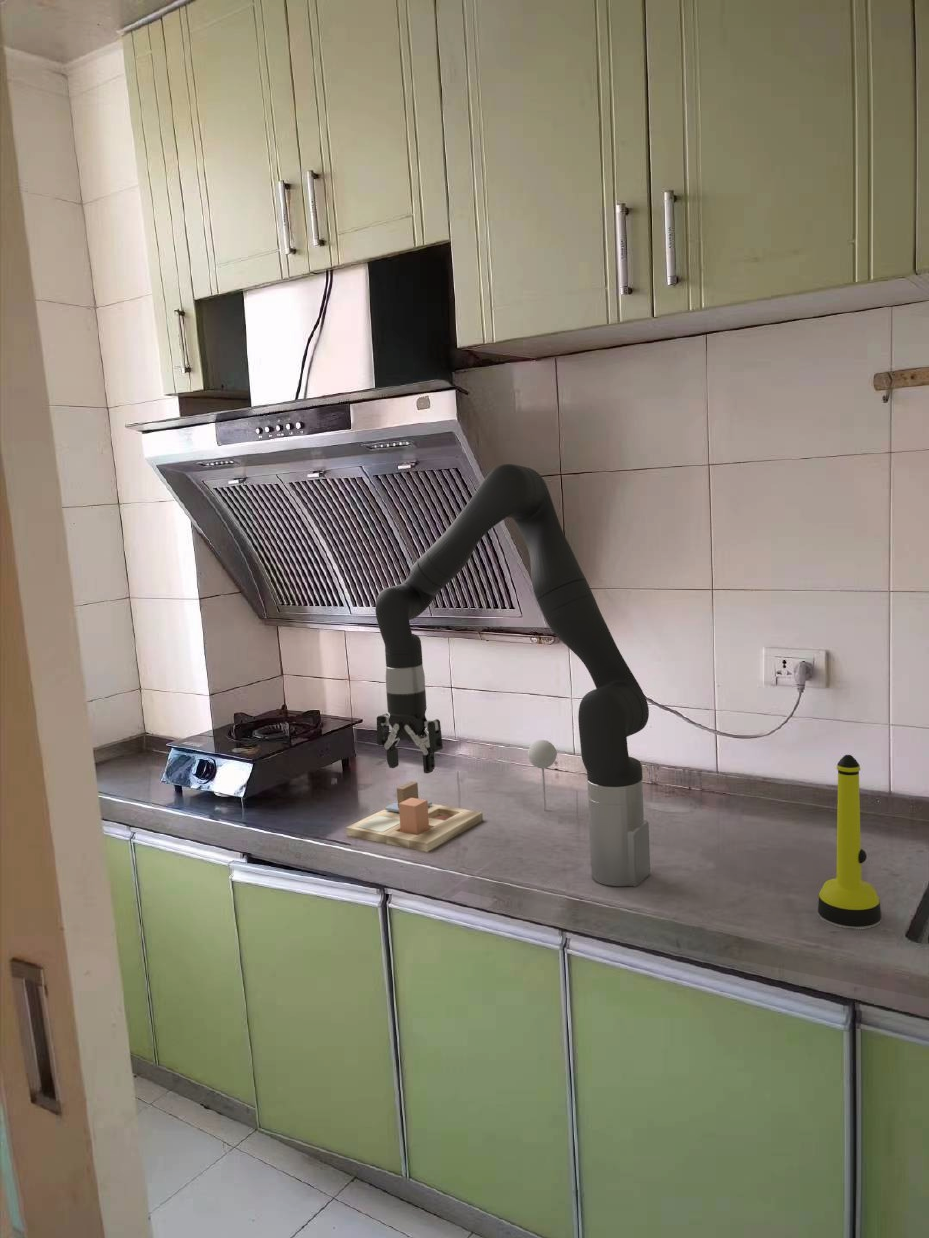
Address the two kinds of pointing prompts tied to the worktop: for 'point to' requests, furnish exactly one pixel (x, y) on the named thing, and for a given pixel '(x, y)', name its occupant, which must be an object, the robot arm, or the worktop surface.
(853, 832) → the flashlight
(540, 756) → the lollipop
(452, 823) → the board
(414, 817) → the block
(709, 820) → the worktop surface
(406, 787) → the lid
